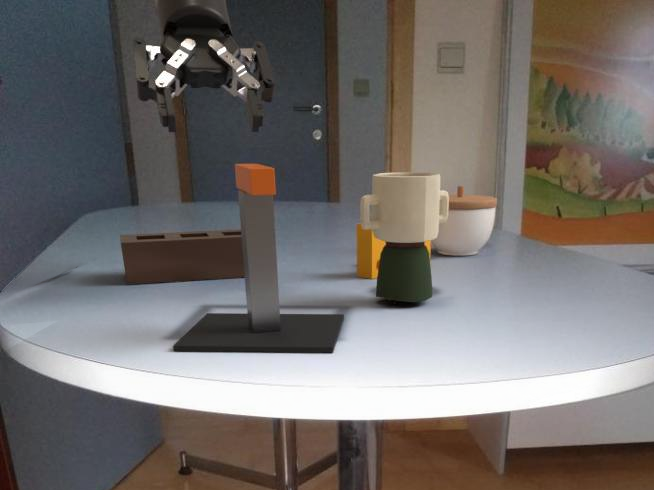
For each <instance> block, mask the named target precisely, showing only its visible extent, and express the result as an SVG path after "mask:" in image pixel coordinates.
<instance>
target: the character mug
mask: <svg viewBox="0 0 654 490" xmlns="http://www.w3.org/2000/svg"><path fill="white" fill-rule="evenodd" d="M449 195H450V194H449V192H448V191H446V190H444V189H443V190H441V174H440V173H435V172H412V171H411V172H407V171H405V172H404V171H400V172H381V173H375V174H372V180H371V194H365V195H363V196H362V197H361V198H360V200H359V201H360V202H359V204H360V205H359V211H360V213H359V214H360V215H359V216H360V217H359V218H360V222H359V223H361V226H362V229H365V230H369V229H372V231H373V234H374V236H375V238H377V239H379V240H382V241H385V242H386V245H385V246H384V247H383V249H382V252H381V254H380V262H379V269H378V276H377V278H376V288H375V298H381V299H385V300H389V301H390V303H391V304H393V305H395V304H396V302H403V303H404V302H405V303H416V302H418V303H420V302H425V301H427V300H429V299H431V298H433V277H432V268H431V256H430V257H429V251H428V249H427V246H425V245H424V242H426V241H430V240H433V239H435V238H437V236H438V232H439V223H444V222H446V221H447V219H448V209H449ZM439 207H440V209H439Z"/></svg>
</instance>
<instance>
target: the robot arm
mask: <svg viewBox="0 0 654 490" xmlns="http://www.w3.org/2000/svg"><path fill="white" fill-rule="evenodd" d="M154 1H155V3H154V4H155V5H154V6H155V7H154V8H155V12H156V15H157V19H158V24H159V30H160V36H161V43H160V45H147V43H146V40H145V38H143V37H140V36H139V37H135V38H134V39H133V41H132V42H133V53H134V67H135V79H136V89H137V98H138V100H140V101H141V102H149V101H150V100H152V101H154V102H155V103H156V105H157V111H158V116H159V121H160V125H161V126H162V127H163V128H167V130H168V133H176V132H177V129H176V128H177V127H176V125H177V122H176V112H175V108H174V107H175V106H174V103H173V102H174V101H173V99H174V98H175V97H179V96H180V94H181V93H182V92H183V91H184V89H186V87H187V86H190V89H201V88H209V89H221V87H222V88H223V89H224V90H225V91H226V92H228V93H229V94H230V95H231V96H233V97H234V98H236V97H239V99H241V100H242V101H243V102H244V103H245V110H246V113H247V114H246V115H247V118H248V124H249V127H250V132H251V133H259V130H260V128H262V127H263V126H264V120H265V109H264V105H263V101H264V102H265V103H272V102H273V101H274V98H275V97H274V96H275V95H274V92H275V86H276V77H275V74H274V69H273V67H272V63H271V60H270V57H269V55H268V51H267V48H266V45H265V43H264V42H263V41H260V40H257V41H254V43H253V47H247V48H246V47H245V48H244V47H243V48H240V46H239V45H238V44H237V43H236V41H235V39H234V36H233V30H232V26H231V22H230V15H229V12H228V6H227V3H226V0H154ZM158 61H160V62H161V64H162V65H163V66H164V69H163V71H162V72H161V73H160V74H159V76H158V77H157V78H156V79H153V78H149V72H152V71H153V68H154V67H155V66H156V63H157V62H158ZM245 65H247V67H248V69H250V70H249V72H250V73H252V74H254V75H255V77H254V76H253V75H251V74H250V73H249V72H248V71H247V69H246V66H245Z"/></svg>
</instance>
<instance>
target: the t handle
mask: <svg viewBox="0 0 654 490" xmlns="http://www.w3.org/2000/svg"><path fill="white" fill-rule="evenodd" d="M234 172H235V185H236V189H237V190H238V189H239V190H238V191H237V193H238V194H237V195H238V208H239V209H238V210H239V221H240V229H241V236H242V249H243V262H244V275H245V277H244V287H245V288H244V289H245V298H246V314H248V326H249V328H250V329H251V330H252V332H253V333H261V332H272V331H281V325H280V314H281V311H280V310H281V309H280V307H281V306H280V292H279V291H280V290H279V275H278V273H279V272H278V256H277V239H276V238H277V237H276V223H275V222H276V221H275V220H276V219H275V205H274V195H277V192H276V191H277V190H276V189H277V188H276V173H275V167H272V166H266V165H262V164H260V163H235V164H234Z"/></svg>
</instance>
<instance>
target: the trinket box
mask: <svg viewBox="0 0 654 490" xmlns="http://www.w3.org/2000/svg"><path fill="white" fill-rule="evenodd" d="M456 189H457V192H456V194H448V195H449V209H448V219H447V221H446V222H444V223H439V232H438V236H437V238H435V239H433V240H431V246H433V247H434V248H435V249H436V251H437V253H438V254H440V255H444V256H454V257H458V256H461V257H462V256H463V257H465V256H473V255H477V254H478V253H479V251H480V250H481V249H482V248H483V247H484V246H485V245H486V244H487V242H488V241H489V239H490V237H491V235H492V234H493V229H494V226H495V221H496V210H497V206H498V198H497V197H495V196H489V195H478V194H465V189H466V188H465V185H457V188H456ZM439 209H440V207H439Z"/></svg>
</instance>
